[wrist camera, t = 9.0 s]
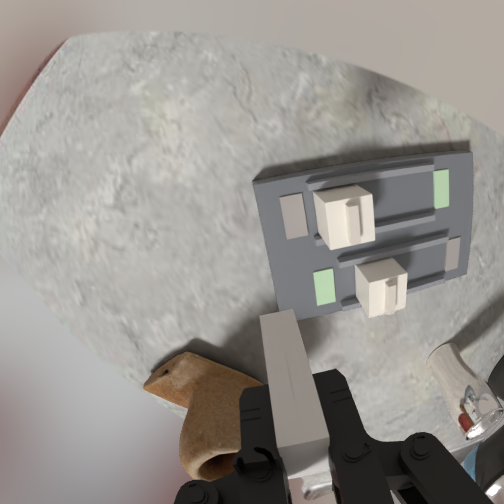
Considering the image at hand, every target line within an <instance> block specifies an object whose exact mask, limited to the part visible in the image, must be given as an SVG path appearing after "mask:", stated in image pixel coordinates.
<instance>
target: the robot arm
mask: <svg viewBox="0 0 504 504" xmlns="http://www.w3.org/2000/svg"><path fill="white" fill-rule="evenodd" d="M259 317H260V325H261V332H262V340H263V347H264V354H265V362H266V369H267V376H268V384H267V385H261V386H255V387H249V388H244V389H243V392H242V394H241V396H240V398H239V411H240V434H241V449H240V450H239V451H238V452H237V453H236V455H235V456H234V458H233V463H232V465H233V467H234V468H235V470H234V471H233V472H232V473H230V474H228V475H226V476H224V477H221V478H219V479H216V480H213V481H210V482H208V481H205V480H196V479H195V480H192V481H189V482H187V483H185V484H184V485H183V486H181V488H180V490H179V491H178V493H177V496H176V499H175V502H174V504H292V497H291V493H290V490H289V483H288V479H291V478H297V477H302V476H307V475H312V474H317V473H321V472H325V471H330V472H331V476H332V491H334V494H335V498H336V503H337V504H394V501H393V498H392V495H391V492H390V490H392V491H393V493H394V494H395V496H396V497H397V499H398V500H399V501H400V503H401V504H504V425H503V426H502V427H500V428H499V429H498V430H497V431H496V432H495V433H493V434H492V435H491V436H490V437H489V438H487V439H486V440H485V441H484V442H481V443H480V444H479V445H478V446H477V447H476V448H475V449H474V450H472V451H471V452H470V453H469V454H468V455H467V456H466V458H465V461H464V468H463V467H462V466H461V465H460V464H459V463H458V461H457V460H456V459H455V458H454V457H453V456H452V455H451V453H450V452H449V451H448V450H447V449H446V448H445V447H444V446H443V444H442V443H441V442H440V441H439V440H438V439H437V438H436V437H435V436H433V435H432V434H430V433H426V432H419V433H415V434H413V435H410V436H409V437H408V438H407V439H406V440H405V441H394V442H382V441H378V440H375V439H373V438H372V437H370V436H369V435H368V434H367V433H366V431H365V429H364V427H363V424H362V421H361V419H360V416H359V413H358V410H357V408H356V405H355V402H354V400H353V398H352V394H351V392H350V390H349V386H348V384H347V381H346V378H345V377H344V376H343V375H342V374H341V373H340V372H339V371H338V370H337V369H332V370H328V371H324V372H320V373H316V374H312V372H311V369H310V365H309V362H308V358H307V355H306V351H305V348H304V344H303V341H302V337H301V334H300V331H299V327H298V324H297V320H296V317H295V314H294V310H293V309H290V310H285V311H280V312H275V313H270V314H265V315H260V316H259ZM488 385H489V386H490V387H491V389H492V390H493V392H494V393H495V395H496V396H498V397H499V398H500V399H502V400H503V401H504V357H503V358H502V359H501V360H500V362H499V363H498V364H497V366H496V367H495V369H494V370H493V372H492V374H491V376H490V378H489V380H488Z"/></svg>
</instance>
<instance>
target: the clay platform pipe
mask: <svg viewBox="0 0 504 504" xmlns="http://www.w3.org/2000/svg"><path fill="white" fill-rule="evenodd" d="M261 385H263V384H262V383H261V382H259V381H258V380H256V379H254V378H252V377H250V376H248V375H246V374H244V373H241V372H239V371H236V370H234V369H231V368H229V367H226V366H224V365H221V364H219V363H216V362H214V361H211V360H208V359H206V358H204V357H201V356H199V355H197V354H194V353H191V352H184V353H183V354H180V355H177V356H176V357H174V358H172V359H171V360H169V361H167V363H166V364H164V365H162V366H161V367H160V368H158V369H157V370H156V371H155V372H154V374H152V375H151V376H150V377H149V379H148V380H147V381H146V382H145V383H144V387H143V389H144V390H146V391H148V392H150V393H153V394H155V395H157V396H159V397H161V398H163V399H166V400H168V401H170V402H172V403H175V404H178V405H180V406H183V407H185V408H188V412H187V415H186V418H185V421H184V424H183V427H182V431H181V435H180V444H179V447H180V448H179V453H180V460H181V463H182V465H183V468H184V469H185V470H186V472H187V473H188V474H189V475H190V476H191V477H192V478H193V479H194V480H195V479H196V480H205V481H208V482H210V481H213V480H216V479H219V478H221V477H224V476H226V475H228V474H230V473H232V472H233V471H234V470H235V468H234V467H233V465H232V463H233V458H234V456H235V455H236V453H237V452H238V451H239V450H240V449H241V434H240V411H239V398H240V396H241V394H242V392H243V389H244V388H249V387H255V386H261Z"/></svg>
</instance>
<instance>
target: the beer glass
mask: <svg viewBox="0 0 504 504" xmlns="http://www.w3.org/2000/svg"><path fill="white" fill-rule="evenodd" d="M426 369H427V370H428V372H429V373H430V374H431V375H432V376H433V377H434V378H435V379H436V380H437V382H438V384H439V386H440V388H441V391H442V394H443V397H444V400H445V403H446V406H447V408H448V411H449V413H450V415H451V417H452V419H453V421H454V422H455V424H456V426H457V427H458V429H459V430H460V432H461V433H462V435H463V436H464V438H465V440H471V439H474V438H476V437H478V436H480V435H481V434H483V433H484V432H485V431H487V430H488V429H489V428H490V427H491V426H493V425H494V424H495V423H496V422H497V420H498V419H499V418H500V417H501V415H502V413H503V408H502V406H501V404H500V402H499V401H498V399H497V397H496V395H495V393H494V392H493V390H492V389H491V387H490V386H489V385H488V383H487V382H486V381H485V380H484V379H483V378H482V377H481V376H480V375H479V374H478V373H477V372H476V371H474V370H473V369H472V368H471V367H470V366H469V365H468V364H467V363H466V362H465V361H464V360H463V358H462V356H461V355H460V352H459V350H458V348H457V346H456V345H455V344H454V343H446V344H443V345H441V346H440V347H438V348H437V349H436V350H435V351H433V353H432V354H431V355H430V356H429V358H428V360H427V362H426Z"/></svg>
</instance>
